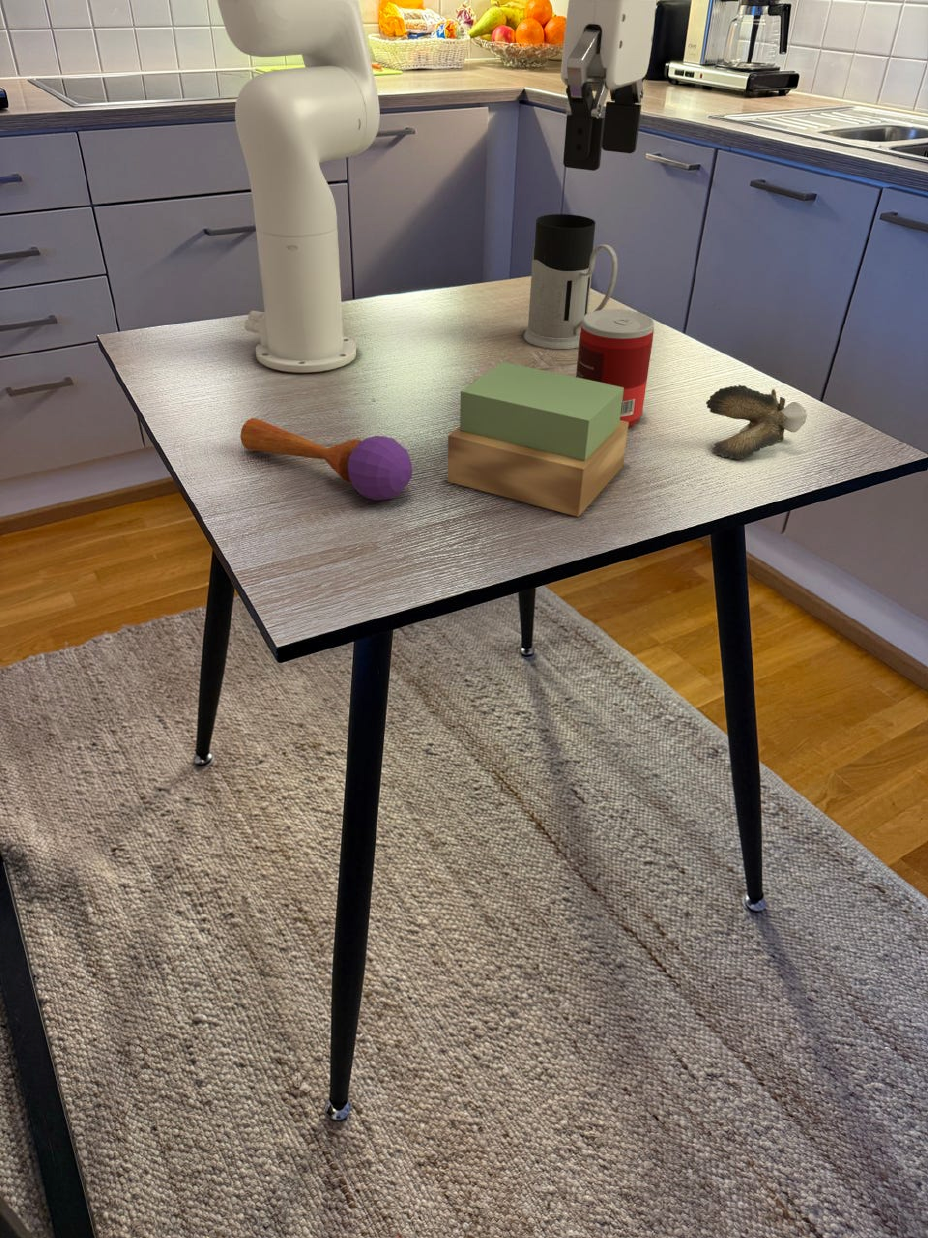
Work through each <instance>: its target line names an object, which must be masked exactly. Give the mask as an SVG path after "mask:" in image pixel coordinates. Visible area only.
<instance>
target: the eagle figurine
mask: <svg viewBox="0 0 928 1238" xmlns="http://www.w3.org/2000/svg"><path fill="white" fill-rule="evenodd" d="M705 404H706V408H707V409H709V413H712V414H714V415H718V416H722V417H723V416H724V417H727V418H730V419H733V420H744V421H749V422H748V423H747V424H746V425H744V426H743V427H742V428H741V429H740V430H739V432H738V433H736V434H734V435H732V436H731V437H728V438H726V439H723V440H720V441H717V442H715V443H714V446H713V447H712V450H713V451H712V452H713V453H712V454H715V456H721V457H723V458H728V457H729V459H735V460H736V459H738V460H739V459H743V458H747V457H749V456H753V455H754V453H756V452H760V450H761V449H764V448H767V447H768V446H769V447H771V446H772V447H773V446H774V445H775V444H776V443H777V442H779V441H780V442H781V443H782V442H783V441H784V437H785V436H784V433H785V430H786V431H787V432H790V433H797V432H798V431H799V430H800V429H801V428H802V426H804V425H805V423H806V422H807V417H808V413H807V412H808V411H807V410H806V408H805V407H804V406H803V405H802V404H800V403H799V402H797V401H792V402H790V403H789V404H787V405H786V399H785V398H784V397H783V396H780V397H779V401H778V397H777V392H776V389H774V388H772V390H771V393H764V392H760V391H759V390H755V389H752V388H749V387H748V386H746V385H745V384H744V385H741V384H738V385H736V384H735V385H734V386H732V385H730V386H726V387H723V388H719V389H718V390H717V391H714V393H713V394H712V395H710V396H709V399H707V400H706V402H705ZM785 405H786V406H785Z"/></svg>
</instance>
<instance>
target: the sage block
mask: <svg viewBox="0 0 928 1238" xmlns="http://www.w3.org/2000/svg"><path fill="white" fill-rule="evenodd" d="M623 391H624V387H619V386H615V385H610V384H605V383H600V382H596V381H591V380H586V379H582V378H577V377H576V376H572V375H567V374H563V373H558V372H553V371H548V370H543V369H538V368H534V367H529V366H525V365H519V364H515V363H511V362H504V361H502V362H500V363H499V364H497V365H496V366H495V367H493V368H491V369H490V370H489V371H487V372H486V373H485V374H484V375H482V376H480V377H479V378H477V379H476V380H475V381H473V382H471V383H470V384H469V385H467V386H466V387H465V388H463V389H462V390H460V409H459V410H460V412H459V414H460V417H459V418H460V419H459V427H460V430H461V431H465V432H469V433H473V434H477V435H481V436H485V437H489V438H493V439H497V440H501V441H505V442H509V443H514V444H518V445H522V446H526V447H530V448H534V449H538V450H542V451H546V452H550V453H554V454H558V455H562V456H566V457H570V458H574V459H578V460H583V461H585V460H586V459H587V458H588V457H589V456H590V455H591V454H592V453H593V452H594V451H595V450H596V449H597V448H598V447H599V446H600V445H601V444H602V443H603V442H604V441H605V440H606V439H607V438H608V437H609V436H610V435H611V434H612V433H613V432H614V430H615V429H616V428H617V427H618V426H619V422H620V414H621V407H622V399H623Z"/></svg>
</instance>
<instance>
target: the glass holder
mask: <svg viewBox="0 0 928 1238" xmlns="http://www.w3.org/2000/svg"><path fill="white" fill-rule="evenodd" d="M595 231H596V221H595V220H594V219H593V218H590V217H587V216H584V215H583V216H582V215H578V214H567V213H553V214H545V215H540V216H538V217H536V220H535V233H534V235H535V236H534V244H533V247H532V257H531V258H532V259H531V273H530V274H531V276H530V288H529V303H528V305H529V307H528V319H527V320H528V321H527V329H526V330H525V332H524V334H523V338H524V340H525V341H526V342H527V343H529V344H531V345H533V346H535V347H539V348H543V349H549V350H571V349H573V350H574V349H579V340H580V331H581V323H582V318H583V317H584V316H585V315H586V314H588V313H589V306H590V296H591V295H590V293H591V287H592V286H591V285H592V274H593V272H594V269H595V263H596V258H597V255H598V253H599V251H600V250H601V249H602V248H603V249H605V250H606V251H607V252H608V254H609V255H610V257H611V258H610V259H611V262H612V264H611V275H610V281H609V284H608V288H607V291H606V294H605V295H604V297H603V299H602V301H601V302H600V304H599V305H598V306H597V307H596V308H595V309H594V310H593V311H592V312H594V311H599V310H604V308H605V307H606V305H607V303H608V302H609V300H610V299H611V296H612V294H613V292H614V289H615V284H616V282H617V276H618V263H619V260H618V257H617V253H616V252H615V250H614V248H613V247H611V246H610V245H608V244H606V243H605V244H604V243H603V244H599V245H597V246H595V248H594V244H595V243H594V242H595V233H596V232H595Z"/></svg>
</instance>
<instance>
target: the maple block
mask: <svg viewBox="0 0 928 1238" xmlns="http://www.w3.org/2000/svg"><path fill="white" fill-rule="evenodd" d="M628 425H629V422H626V421H622V420H620V422H619V426H618V427H617V428H616V429H615V430H614V432H613V433H612V434H611V435H610V436H609V437H608V438H607V439H606V440H605V441H604V442H603V443H602V444H601V445H600V446H599V447H598V448H597V449H596V450H595V451H594V452H593V453H592V454H591V455H590V456H589V457H588V458H587V459H586V460H585V461H583V460H578V459H574V458H570V457H566V456H562V455H558V454H554V453H550V452H546V451H542V450H538V449H534V448H530V447H526V446H522V445H518V444H514V443H509V442H505V441H501V440H497V439H493V438H489V437H485V436H481V435H477V434H473V433H469V432H465V431H461V430H460V426H458V427H457V428H456V429H454V430H453V431H451V432H450V433H449V434H447V478H446V479H447V480H446V481H447V482H448V483H451V484H454V485H460V486H461V487H466V488H468V489H469V488H470V489H474V490H477V491H481V492H484V493H487V494H492V495H494V496H495V495H496V496H500V497H502V498H507V499H510V500H514V501H518V502H522V503H526V504H529V505H532V506H537V507H540V508H542V509H544V508H545V509H547V510H551V511H555V512H559V513H561V514H566V515H569V516H574V517H576V518H579V517H580V516H581V515H582V514H583V513H584V512H585V510H586V509H587V508H588V507H589V506H590V505H591V503H592V502H593V501H595V499H596V498H597V497H598V495H599V494H601V492H602V491H603V490H604V489H605V487H607V486H608V484H609V483H610V482H611V481H612V480H613V479H614V478H615V477H616V476H617V474H618V473H619V472H620V471H621V470H622V469H623V468H624V461H625V456H626V455H625V454H626V446H627V439H628V432H629V427H628Z"/></svg>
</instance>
